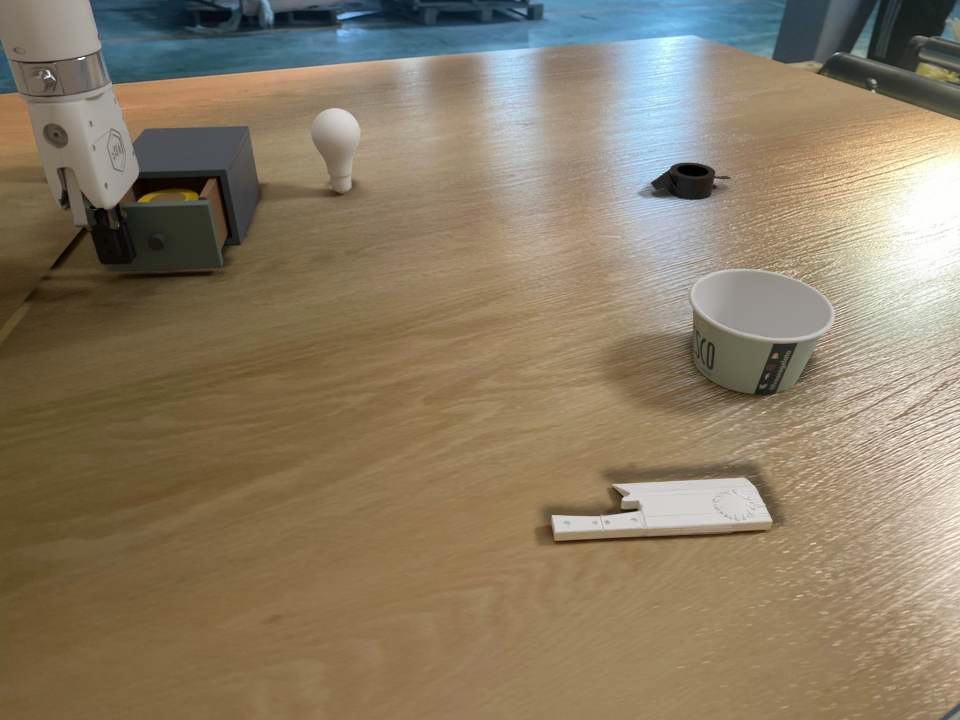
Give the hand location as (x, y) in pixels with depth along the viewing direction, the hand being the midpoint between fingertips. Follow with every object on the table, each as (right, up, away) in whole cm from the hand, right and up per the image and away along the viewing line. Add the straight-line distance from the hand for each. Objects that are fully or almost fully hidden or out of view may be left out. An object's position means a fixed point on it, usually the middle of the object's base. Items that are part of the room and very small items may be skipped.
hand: (119, 260), depth 77 cm
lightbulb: (+18, +12, +23) cm, 32 cm away
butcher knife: (+49, -21, -23) cm, 58 cm away
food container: (+61, -11, -8) cm, 62 cm away
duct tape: (+64, +12, +24) cm, 70 cm away
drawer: (+3, +3, +9) cm, 10 cm away
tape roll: (+3, +4, +8) cm, 9 cm away
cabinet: (+2, +7, +16) cm, 18 cm away
